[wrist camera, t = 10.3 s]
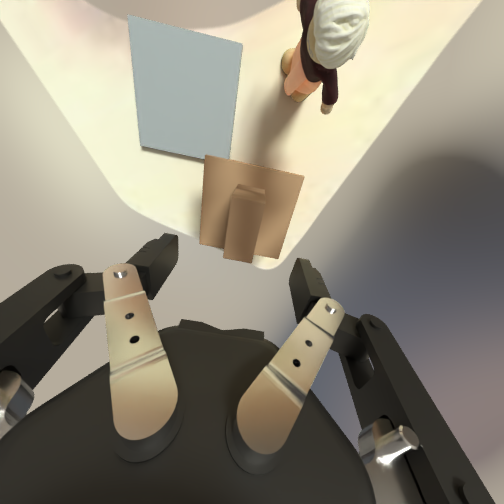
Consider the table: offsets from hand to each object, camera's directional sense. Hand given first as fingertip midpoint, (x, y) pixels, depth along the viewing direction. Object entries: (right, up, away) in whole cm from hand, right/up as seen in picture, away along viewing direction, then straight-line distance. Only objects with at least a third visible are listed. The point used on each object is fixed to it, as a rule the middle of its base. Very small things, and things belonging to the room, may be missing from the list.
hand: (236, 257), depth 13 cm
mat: (-6, +18, +9) cm, 21 cm away
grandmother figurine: (+6, +19, +8) cm, 21 cm away
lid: (0, +5, +9) cm, 10 cm away
